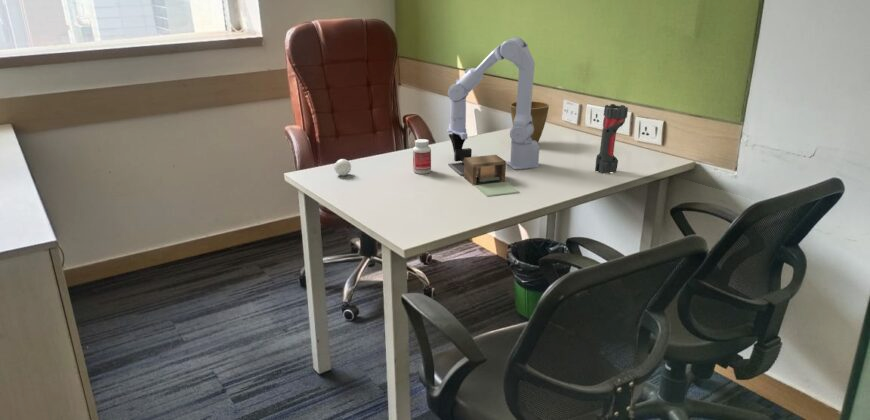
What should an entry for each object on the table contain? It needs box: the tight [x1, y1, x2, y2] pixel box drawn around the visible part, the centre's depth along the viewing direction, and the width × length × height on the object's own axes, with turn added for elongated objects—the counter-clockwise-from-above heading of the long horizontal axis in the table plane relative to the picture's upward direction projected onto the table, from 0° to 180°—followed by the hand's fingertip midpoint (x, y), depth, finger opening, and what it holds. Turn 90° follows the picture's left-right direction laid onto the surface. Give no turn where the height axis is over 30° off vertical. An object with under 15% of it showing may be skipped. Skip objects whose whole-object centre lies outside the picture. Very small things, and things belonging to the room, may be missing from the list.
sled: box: [453, 147, 500, 183], centre depth 221 cm, size 7×26×5 cm, turn 19°
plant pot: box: [509, 101, 550, 144], centre depth 253 cm, size 15×15×16 cm
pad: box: [474, 181, 520, 197], centre depth 206 cm, size 11×10×1 cm
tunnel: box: [463, 154, 507, 186], centre depth 214 cm, size 11×8×7 cm
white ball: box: [334, 158, 352, 177], centre depth 220 cm, size 8×6×6 cm
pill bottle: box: [412, 138, 432, 175], centre depth 221 cm, size 6×6×11 cm
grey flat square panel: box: [447, 161, 464, 177], centre depth 226 cm, size 12×13×1 cm
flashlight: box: [594, 103, 629, 174], centre depth 219 cm, size 8×8×23 cm
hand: (457, 153), depth 237 cm, fingers closed
